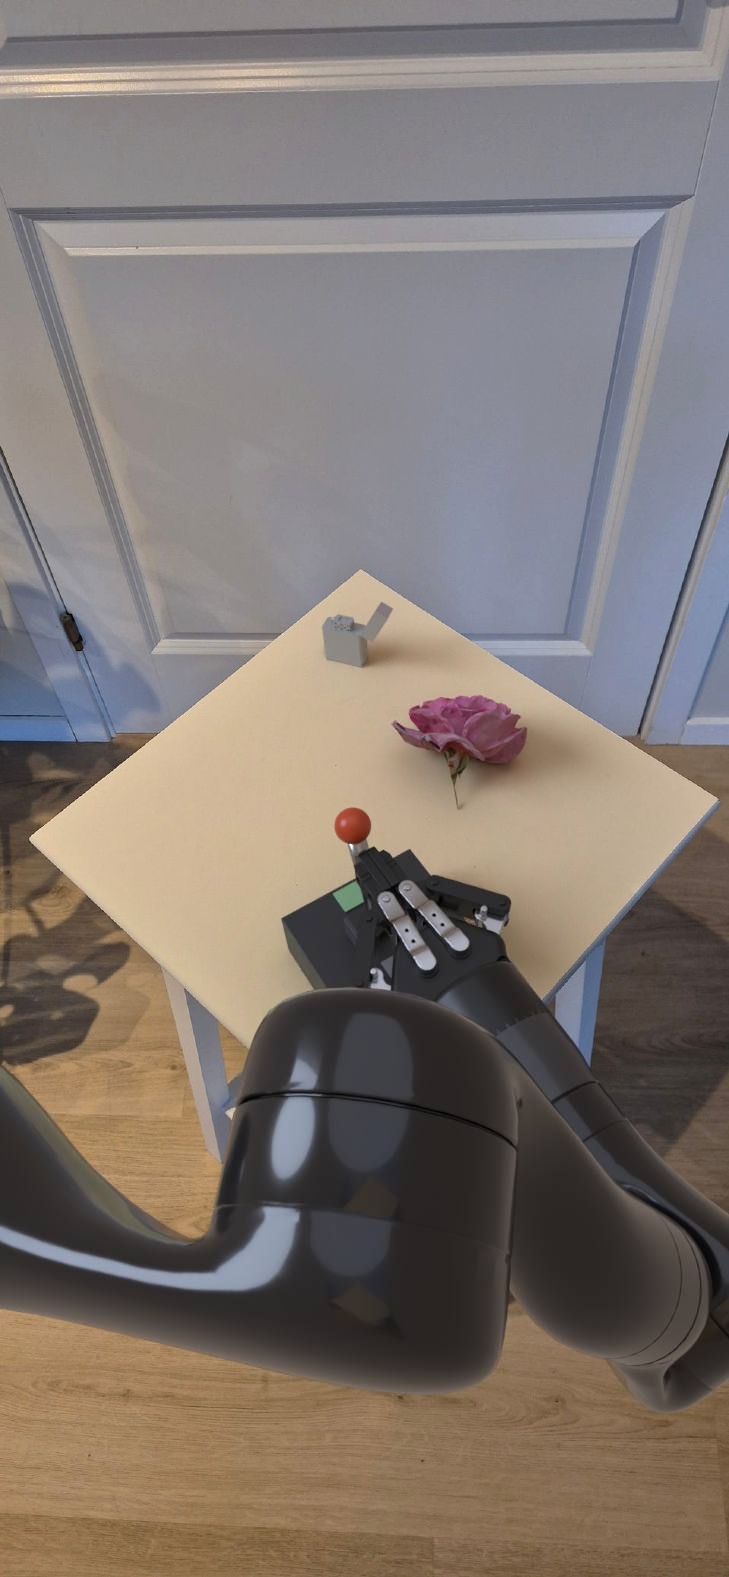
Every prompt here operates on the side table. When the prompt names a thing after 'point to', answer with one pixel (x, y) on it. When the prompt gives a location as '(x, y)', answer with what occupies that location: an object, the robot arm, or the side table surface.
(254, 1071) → the robot arm
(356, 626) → the lighter
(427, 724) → the flower
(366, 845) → the toggle
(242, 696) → the side table surface
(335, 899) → the switch box
